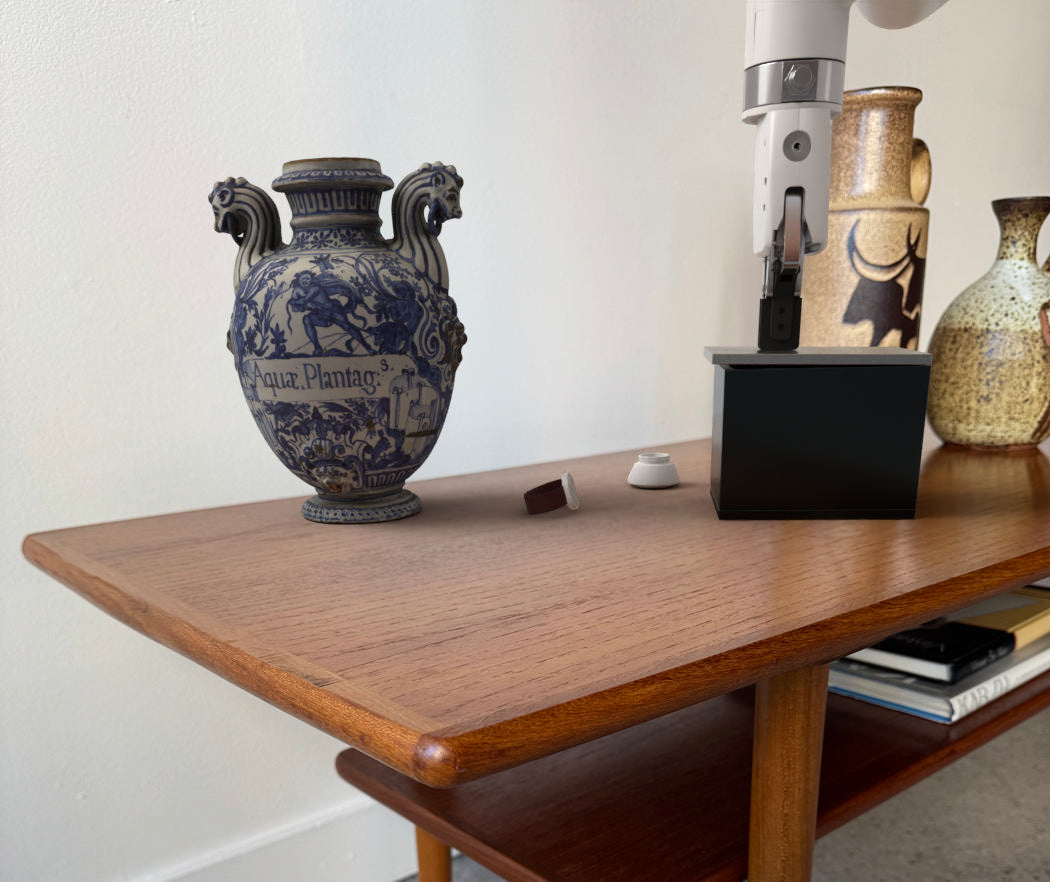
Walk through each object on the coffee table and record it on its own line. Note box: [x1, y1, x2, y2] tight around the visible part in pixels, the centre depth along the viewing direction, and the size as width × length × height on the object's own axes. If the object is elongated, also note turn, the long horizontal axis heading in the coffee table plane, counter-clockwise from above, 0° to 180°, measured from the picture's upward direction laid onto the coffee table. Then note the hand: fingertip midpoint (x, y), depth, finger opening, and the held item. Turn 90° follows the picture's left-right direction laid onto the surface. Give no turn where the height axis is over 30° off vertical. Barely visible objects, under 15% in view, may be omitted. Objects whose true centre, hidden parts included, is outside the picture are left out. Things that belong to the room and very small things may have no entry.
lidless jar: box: [627, 452, 680, 489], centre depth 102 cm, size 5×3×5 cm
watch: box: [523, 469, 579, 516], centre depth 91 cm, size 8×5×4 cm, turn 168°
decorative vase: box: [207, 156, 468, 524], centre depth 88 cm, size 21×19×28 cm
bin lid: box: [703, 346, 933, 366], centre depth 86 cm, size 17×13×1 cm
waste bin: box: [709, 364, 932, 521], centre depth 88 cm, size 16×13×12 cm
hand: (777, 349), depth 86 cm, fingers closed
